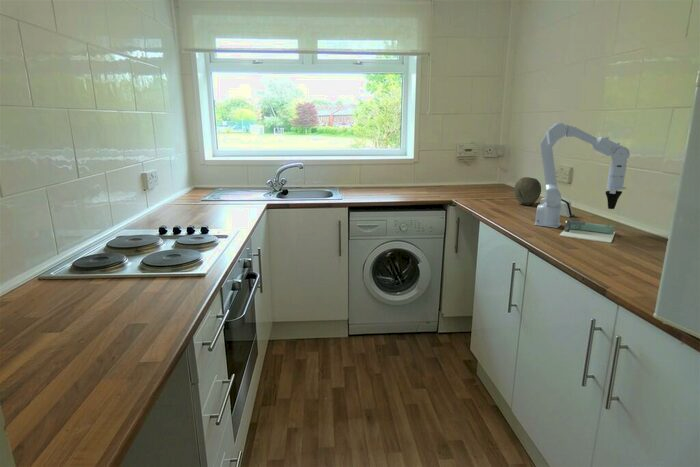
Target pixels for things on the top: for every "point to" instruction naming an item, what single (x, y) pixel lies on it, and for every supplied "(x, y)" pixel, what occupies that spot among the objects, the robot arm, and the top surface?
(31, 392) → the top surface
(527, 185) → the cantaloupe
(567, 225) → the keeper
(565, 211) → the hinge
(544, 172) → the robot arm
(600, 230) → the link
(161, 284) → the top surface
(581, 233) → the plate
